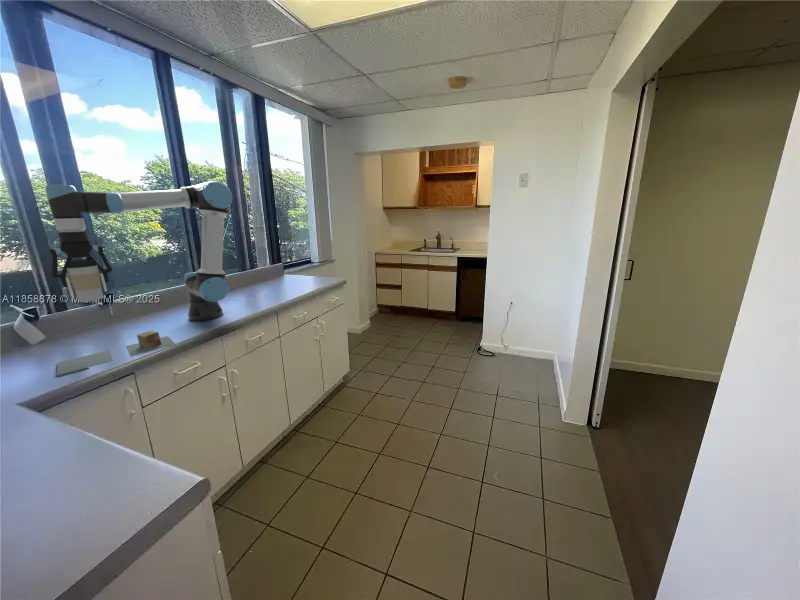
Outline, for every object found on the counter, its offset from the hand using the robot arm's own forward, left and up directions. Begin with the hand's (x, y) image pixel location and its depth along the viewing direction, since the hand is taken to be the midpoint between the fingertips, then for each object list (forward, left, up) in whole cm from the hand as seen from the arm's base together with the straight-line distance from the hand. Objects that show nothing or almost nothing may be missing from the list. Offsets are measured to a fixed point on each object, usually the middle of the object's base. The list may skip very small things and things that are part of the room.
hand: (89, 293), depth 121 cm
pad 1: (+6, +11, -23) cm, 26 cm away
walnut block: (-13, +11, -22) cm, 28 cm away
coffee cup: (0, 0, -3) cm, 3 cm away
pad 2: (-13, +11, -23) cm, 28 cm away
